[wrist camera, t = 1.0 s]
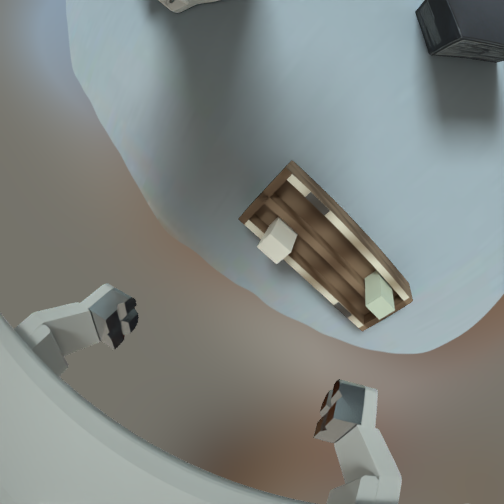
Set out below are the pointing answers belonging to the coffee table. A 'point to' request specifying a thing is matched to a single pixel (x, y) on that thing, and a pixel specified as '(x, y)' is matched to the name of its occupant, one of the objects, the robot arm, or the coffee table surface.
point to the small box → (464, 28)
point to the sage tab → (378, 295)
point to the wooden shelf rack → (326, 244)
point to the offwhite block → (277, 240)
